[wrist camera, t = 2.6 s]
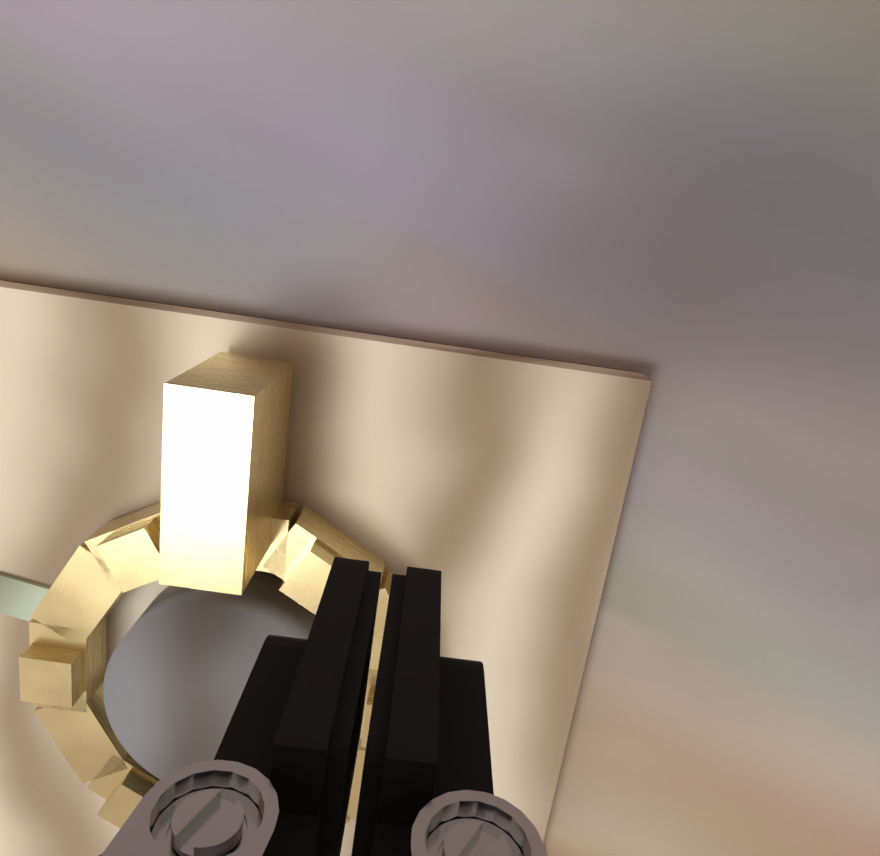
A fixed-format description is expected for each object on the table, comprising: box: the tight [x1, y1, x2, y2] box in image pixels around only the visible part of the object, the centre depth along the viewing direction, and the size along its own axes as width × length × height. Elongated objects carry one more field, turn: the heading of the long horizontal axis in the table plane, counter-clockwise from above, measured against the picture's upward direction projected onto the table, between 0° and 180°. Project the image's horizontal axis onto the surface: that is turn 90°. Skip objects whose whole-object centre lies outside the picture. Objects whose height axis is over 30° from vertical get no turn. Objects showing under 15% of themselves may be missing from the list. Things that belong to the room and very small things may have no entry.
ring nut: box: [19, 352, 393, 829], centre depth 23 cm, size 14×19×5 cm
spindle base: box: [0, 280, 652, 856], centre depth 26 cm, size 26×26×4 cm
